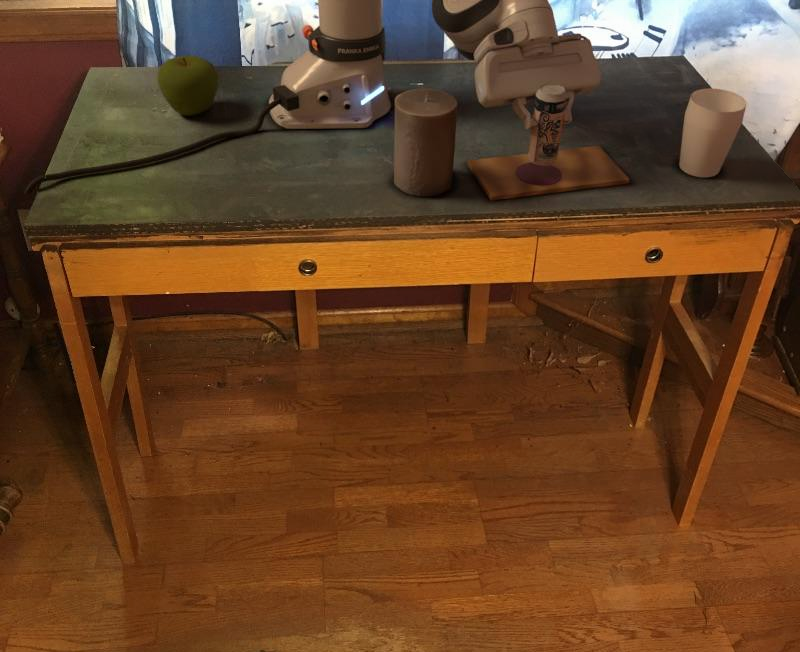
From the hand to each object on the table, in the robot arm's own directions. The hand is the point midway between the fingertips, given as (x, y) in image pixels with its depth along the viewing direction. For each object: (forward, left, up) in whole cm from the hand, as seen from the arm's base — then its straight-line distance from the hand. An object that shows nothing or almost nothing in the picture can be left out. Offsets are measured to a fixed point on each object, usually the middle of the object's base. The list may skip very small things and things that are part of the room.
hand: (548, 125), depth 135 cm
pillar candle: (-19, +3, -10) cm, 22 cm away
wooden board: (+2, +1, -9) cm, 10 cm away
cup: (+28, -3, -10) cm, 29 cm away
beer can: (0, +1, -7) cm, 7 cm away
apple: (-53, +37, -10) cm, 66 cm away
